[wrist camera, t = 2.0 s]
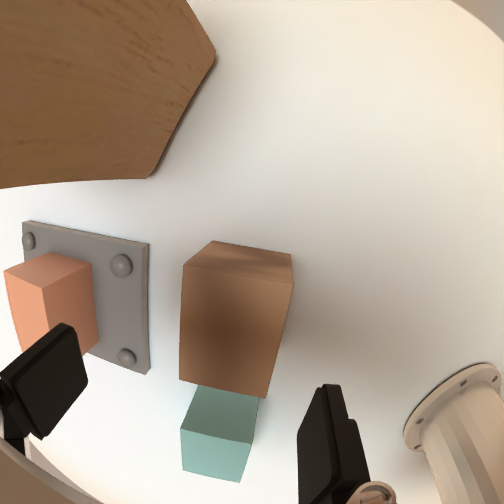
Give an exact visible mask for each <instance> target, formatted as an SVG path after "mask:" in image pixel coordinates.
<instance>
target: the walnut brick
mask: <svg viewBox="0 0 504 504" xmlns="http://www.w3.org/2000/svg"><path fill="white" fill-rule="evenodd" d="M292 289H293V275H292V265H291V255H290V254H286V253H281V252H275V251H269V250H264V249H258V248H252V247H246V246H241V245H235V244H229V243H223V242H218V241H211V242H210V243H209V244H208V245H207V246H205V247H204V248H203V249H202V250H201V251H199V252H198V253H197V254H196V255H195V256H193V257H192V258H191V259H190V260H189V261H187V262H186V263H185V264H184V265H183V278H182V294H181V314H180V343H179V380H183V381H187V382H191V383H194V384H198V385H202V386H207V387H211V388H215V389H220V390H224V391H229V392H234V393H239V394H244V395H250V396H256V397H262V398H266V395H267V391H268V388H269V384H270V380H271V376H272V373H273V369H274V365H275V361H276V357H277V353H278V349H279V345H280V341H281V337H282V333H283V329H284V324H285V320H286V316H287V311H288V307H289V303H290V298H291V294H292Z"/></svg>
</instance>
